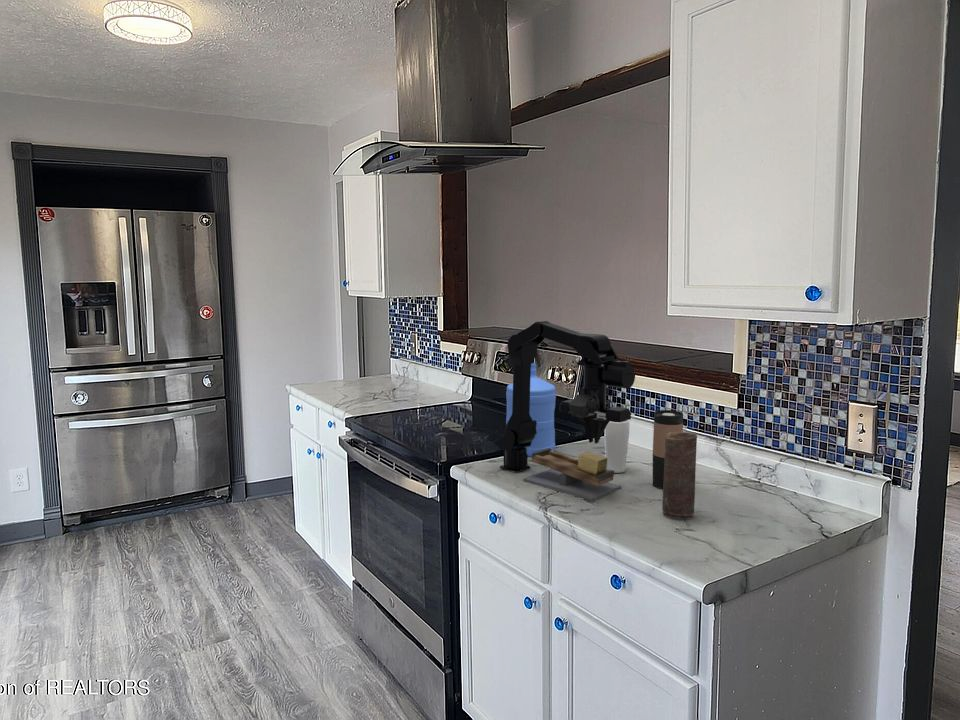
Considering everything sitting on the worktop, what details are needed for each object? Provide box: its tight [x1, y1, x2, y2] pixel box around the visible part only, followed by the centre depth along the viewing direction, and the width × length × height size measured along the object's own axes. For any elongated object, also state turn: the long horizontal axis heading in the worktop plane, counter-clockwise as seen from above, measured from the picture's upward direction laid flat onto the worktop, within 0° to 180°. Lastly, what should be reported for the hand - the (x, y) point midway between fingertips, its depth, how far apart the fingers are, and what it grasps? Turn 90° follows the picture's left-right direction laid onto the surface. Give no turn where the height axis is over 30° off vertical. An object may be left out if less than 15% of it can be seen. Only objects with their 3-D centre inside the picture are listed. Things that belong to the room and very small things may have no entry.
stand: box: [522, 468, 622, 502], centre depth 188 cm, size 23×13×4 cm, turn 46°
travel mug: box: [652, 409, 684, 490], centre depth 186 cm, size 8×8×20 cm
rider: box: [577, 451, 607, 476], centre depth 183 cm, size 6×4×5 cm
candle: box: [661, 431, 698, 517], centre depth 164 cm, size 8×7×20 cm
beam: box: [531, 448, 615, 486], centre depth 188 cm, size 22×7×2 cm, turn 46°
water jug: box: [505, 362, 557, 457], centre depth 221 cm, size 16×16×28 cm
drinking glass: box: [604, 419, 630, 474], centre depth 200 cm, size 7×7×15 cm
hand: (593, 442), depth 182 cm, fingers closed
